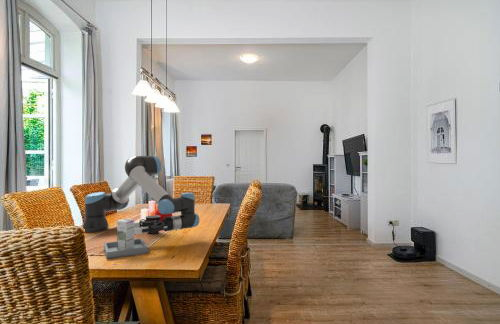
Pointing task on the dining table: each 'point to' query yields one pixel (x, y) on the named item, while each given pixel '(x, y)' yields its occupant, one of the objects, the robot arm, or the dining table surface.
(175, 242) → the dining table surface
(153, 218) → the coffee mug
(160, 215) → the tomato
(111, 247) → the tray
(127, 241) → the syrup box
